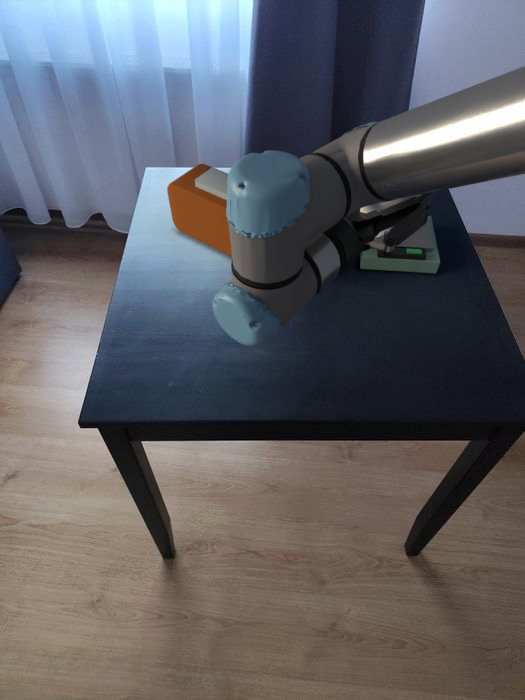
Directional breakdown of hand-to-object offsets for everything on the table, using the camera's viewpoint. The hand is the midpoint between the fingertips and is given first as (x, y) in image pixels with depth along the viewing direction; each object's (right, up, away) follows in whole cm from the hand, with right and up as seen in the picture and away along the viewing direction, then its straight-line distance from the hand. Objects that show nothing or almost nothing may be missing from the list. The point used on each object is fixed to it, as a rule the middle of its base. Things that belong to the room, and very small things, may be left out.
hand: (410, 173), depth 69 cm
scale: (+3, -7, +17) cm, 19 cm away
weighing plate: (+3, -5, +16) cm, 17 cm away
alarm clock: (-26, -6, +19) cm, 33 cm away
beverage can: (-3, -7, +3) cm, 8 cm away
